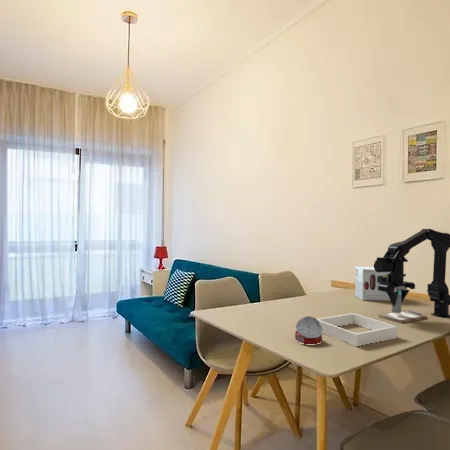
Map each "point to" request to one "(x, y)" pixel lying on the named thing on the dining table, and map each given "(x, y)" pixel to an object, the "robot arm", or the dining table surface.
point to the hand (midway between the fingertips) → (396, 305)
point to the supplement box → (369, 284)
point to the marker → (397, 303)
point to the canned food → (308, 331)
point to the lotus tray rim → (378, 332)
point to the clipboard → (403, 316)
